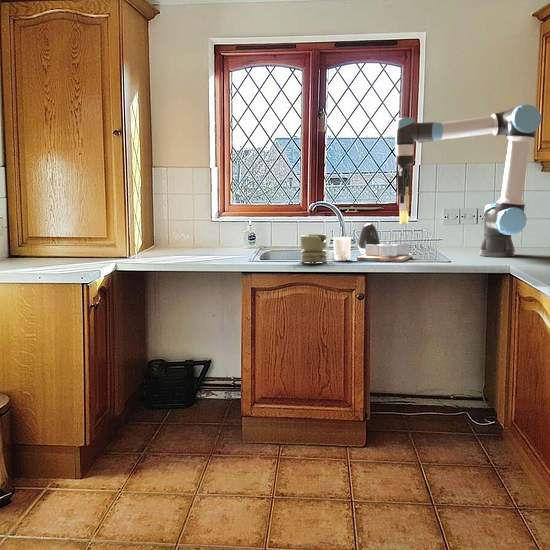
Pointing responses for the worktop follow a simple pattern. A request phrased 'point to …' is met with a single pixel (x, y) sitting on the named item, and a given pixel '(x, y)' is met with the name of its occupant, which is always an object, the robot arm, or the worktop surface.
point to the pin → (405, 213)
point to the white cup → (342, 248)
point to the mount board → (385, 258)
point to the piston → (313, 248)
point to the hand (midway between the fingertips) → (403, 210)
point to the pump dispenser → (368, 237)
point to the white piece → (387, 250)
